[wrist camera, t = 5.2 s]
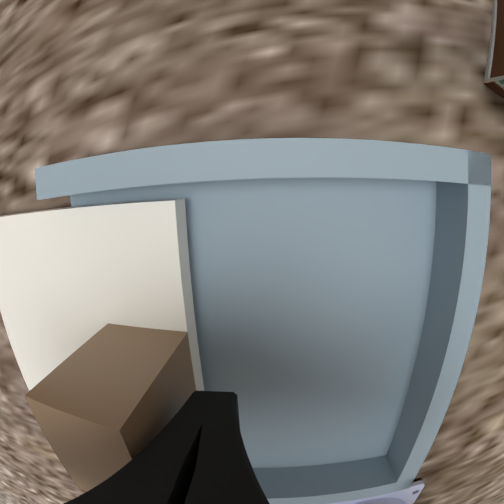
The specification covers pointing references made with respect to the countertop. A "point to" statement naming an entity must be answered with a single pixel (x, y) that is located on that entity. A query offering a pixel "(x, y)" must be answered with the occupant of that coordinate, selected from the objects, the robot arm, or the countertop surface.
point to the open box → (320, 292)
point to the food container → (496, 50)
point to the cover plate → (101, 326)
